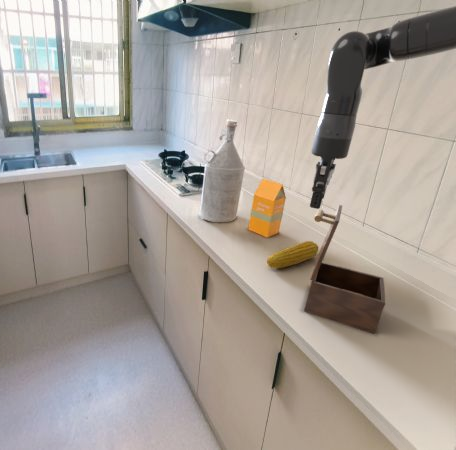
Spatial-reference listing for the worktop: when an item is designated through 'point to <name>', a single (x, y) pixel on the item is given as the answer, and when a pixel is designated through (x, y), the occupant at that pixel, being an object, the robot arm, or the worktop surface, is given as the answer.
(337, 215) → the bread lid
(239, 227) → the worktop surface
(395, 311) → the worktop surface
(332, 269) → the bin
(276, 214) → the orange juice
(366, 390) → the worktop surface
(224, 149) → the grey jug
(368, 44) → the robot arm
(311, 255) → the food
